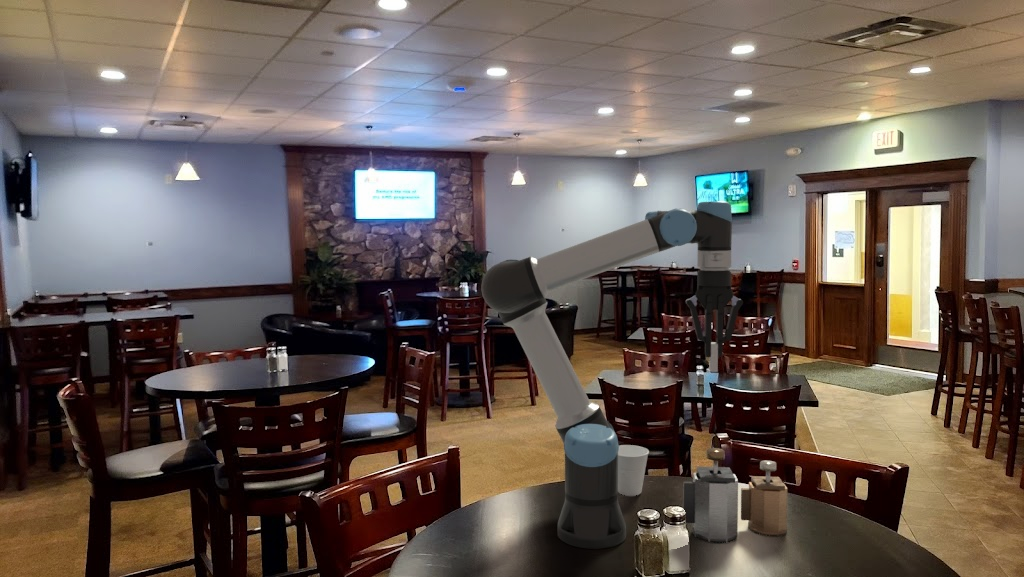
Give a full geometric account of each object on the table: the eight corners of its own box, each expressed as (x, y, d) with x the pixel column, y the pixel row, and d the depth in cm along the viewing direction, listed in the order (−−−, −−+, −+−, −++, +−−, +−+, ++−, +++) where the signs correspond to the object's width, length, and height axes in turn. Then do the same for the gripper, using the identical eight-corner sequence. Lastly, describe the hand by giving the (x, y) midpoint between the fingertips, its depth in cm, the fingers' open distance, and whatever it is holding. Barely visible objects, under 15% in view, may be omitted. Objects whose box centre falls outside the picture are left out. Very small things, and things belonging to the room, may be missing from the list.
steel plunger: (700, 513, 157) (701, 455, 156) (696, 501, 164) (697, 445, 163) (734, 514, 156) (734, 456, 155) (728, 502, 163) (729, 446, 162)
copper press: (781, 522, 166) (782, 475, 165) (790, 537, 158) (791, 488, 157) (737, 520, 167) (738, 474, 167) (744, 535, 159) (745, 486, 159)
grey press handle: (756, 515, 160) (757, 466, 159) (751, 505, 166) (752, 458, 165) (784, 516, 159) (784, 467, 158) (778, 506, 165) (778, 459, 164)
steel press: (733, 526, 164) (734, 465, 163) (741, 544, 155) (741, 480, 154) (681, 524, 166) (681, 464, 165) (685, 542, 156) (686, 478, 155)
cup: (609, 498, 183) (609, 455, 182) (610, 484, 192) (610, 444, 191) (649, 500, 181) (649, 457, 180) (648, 486, 191) (648, 445, 190)
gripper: (687, 270, 164) (686, 373, 166) (746, 269, 162) (745, 374, 164) (683, 268, 171) (683, 367, 173) (740, 268, 169) (739, 368, 171)
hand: (713, 370), depth 168 cm, fingers closed
